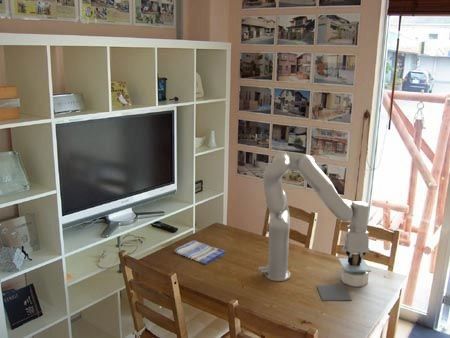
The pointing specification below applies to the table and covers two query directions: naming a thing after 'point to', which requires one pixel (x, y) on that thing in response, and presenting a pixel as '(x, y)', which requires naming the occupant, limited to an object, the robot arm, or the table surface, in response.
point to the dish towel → (199, 252)
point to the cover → (354, 264)
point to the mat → (333, 293)
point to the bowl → (354, 278)
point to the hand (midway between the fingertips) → (354, 263)
